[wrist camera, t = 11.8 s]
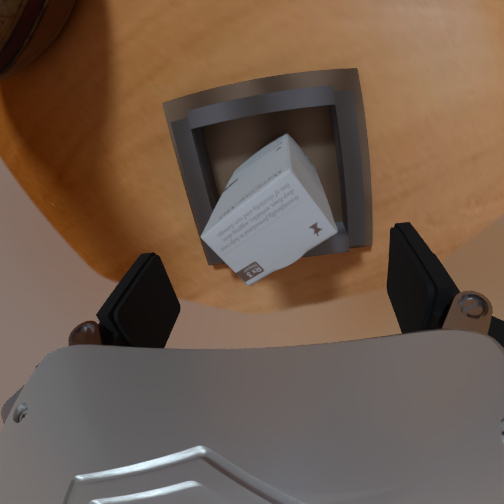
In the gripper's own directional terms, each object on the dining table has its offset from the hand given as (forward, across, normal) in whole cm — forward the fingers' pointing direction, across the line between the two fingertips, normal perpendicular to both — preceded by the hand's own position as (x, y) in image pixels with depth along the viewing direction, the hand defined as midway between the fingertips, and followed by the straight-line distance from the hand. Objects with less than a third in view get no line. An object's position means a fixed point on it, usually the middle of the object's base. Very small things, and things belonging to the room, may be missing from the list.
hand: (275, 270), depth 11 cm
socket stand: (+16, +1, 0) cm, 17 cm away
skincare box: (+16, +1, 0) cm, 16 cm away
